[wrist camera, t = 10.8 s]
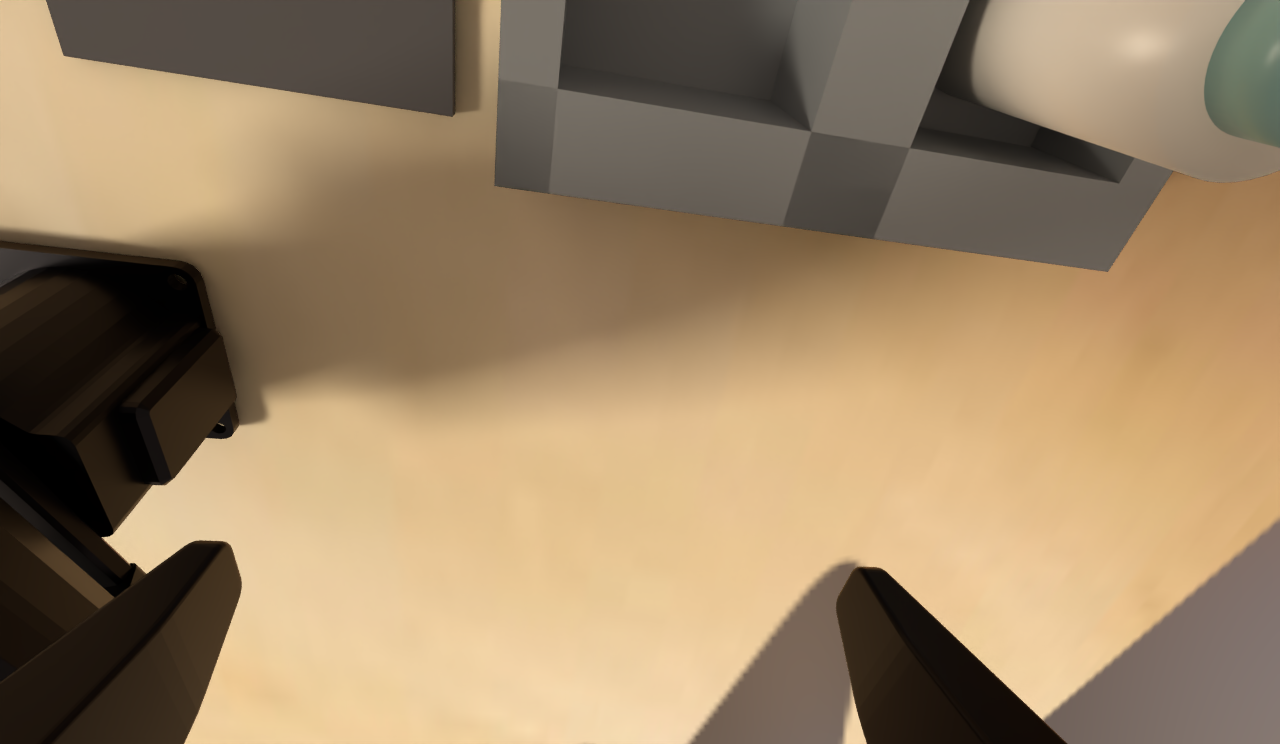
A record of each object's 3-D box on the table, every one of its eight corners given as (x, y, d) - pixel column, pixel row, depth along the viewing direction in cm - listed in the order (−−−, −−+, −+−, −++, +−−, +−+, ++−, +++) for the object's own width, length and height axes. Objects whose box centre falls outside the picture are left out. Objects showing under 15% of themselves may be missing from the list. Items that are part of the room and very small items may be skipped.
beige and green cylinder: (890, 83, 16) (1149, 178, 9) (960, -102, 14) (1381, -187, 7) (1021, 110, 17) (1367, 220, 9) (1106, -63, 15) (1642, -99, 7)
